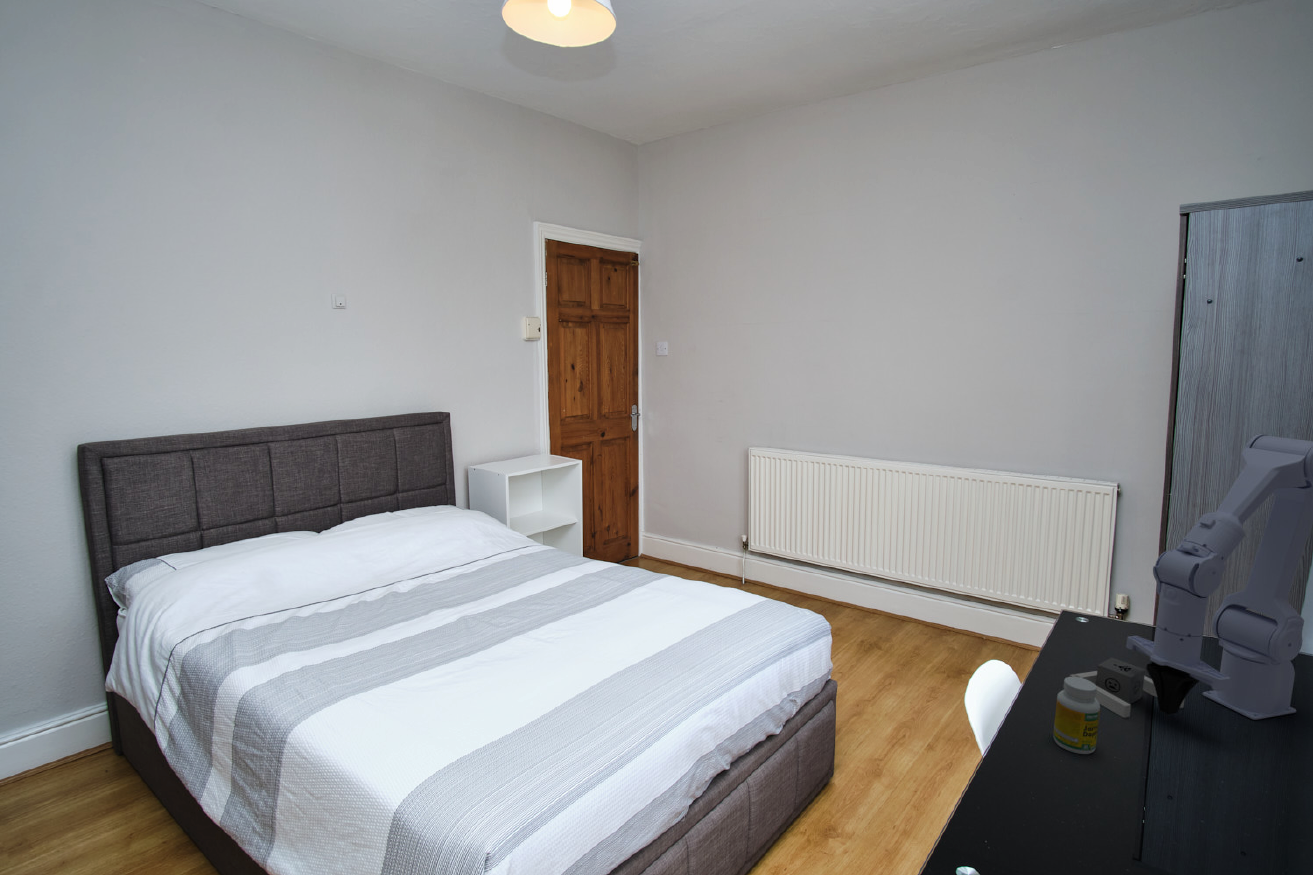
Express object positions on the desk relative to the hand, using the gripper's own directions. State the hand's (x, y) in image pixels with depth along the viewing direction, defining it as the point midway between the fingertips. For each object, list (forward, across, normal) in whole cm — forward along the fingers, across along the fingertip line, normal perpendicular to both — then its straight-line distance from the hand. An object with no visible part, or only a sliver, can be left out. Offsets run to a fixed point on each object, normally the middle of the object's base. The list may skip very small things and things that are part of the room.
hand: (1168, 711), depth 106 cm
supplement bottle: (+2, +2, -20) cm, 20 cm away
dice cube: (+2, -8, -1) cm, 8 cm away
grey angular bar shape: (+1, -7, 0) cm, 7 cm away
